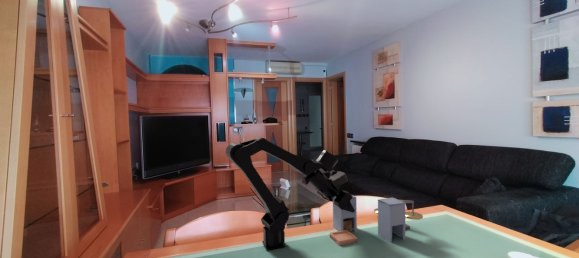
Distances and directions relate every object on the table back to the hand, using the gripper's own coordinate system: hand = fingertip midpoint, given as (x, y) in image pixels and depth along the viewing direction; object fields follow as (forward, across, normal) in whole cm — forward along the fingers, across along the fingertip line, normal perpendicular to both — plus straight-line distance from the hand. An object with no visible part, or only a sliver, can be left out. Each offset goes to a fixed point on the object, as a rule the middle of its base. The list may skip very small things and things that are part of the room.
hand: (347, 207), depth 106 cm
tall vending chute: (+5, 0, +7) cm, 8 cm away
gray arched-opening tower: (+13, -12, -2) cm, 18 cm away
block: (+5, 0, +7) cm, 8 cm away
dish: (+1, -8, +10) cm, 13 cm away
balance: (+19, -5, -7) cm, 21 cm away
